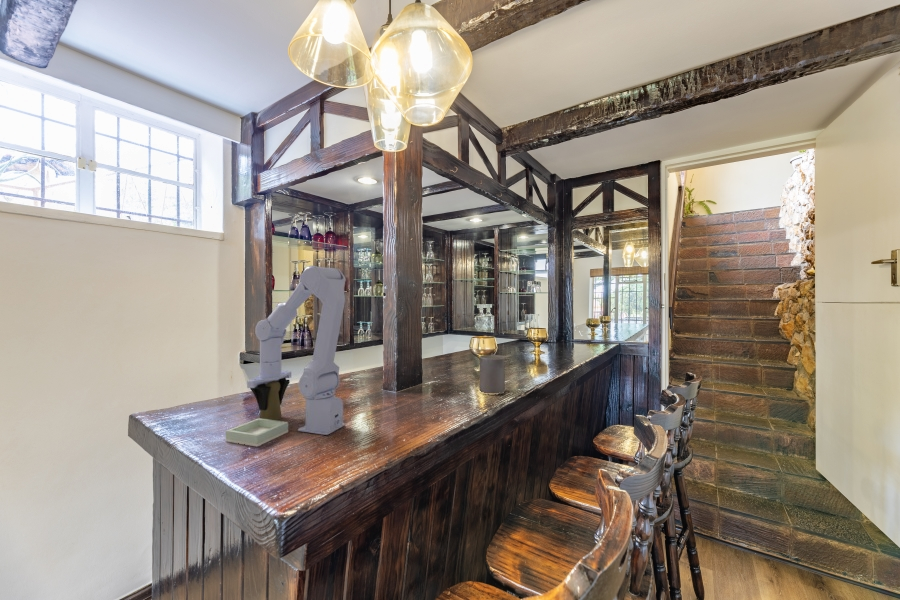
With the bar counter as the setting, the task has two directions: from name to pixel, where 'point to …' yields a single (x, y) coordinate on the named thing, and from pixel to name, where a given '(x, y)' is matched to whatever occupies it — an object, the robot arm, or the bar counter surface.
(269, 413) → the olive pepper mill
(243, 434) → the tray
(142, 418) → the bar counter surface
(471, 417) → the bar counter surface
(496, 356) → the pillar candle
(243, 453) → the bar counter surface
